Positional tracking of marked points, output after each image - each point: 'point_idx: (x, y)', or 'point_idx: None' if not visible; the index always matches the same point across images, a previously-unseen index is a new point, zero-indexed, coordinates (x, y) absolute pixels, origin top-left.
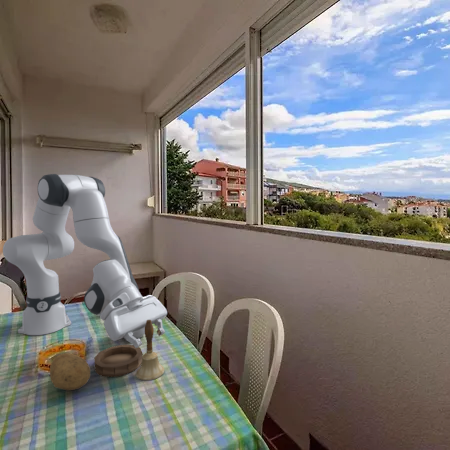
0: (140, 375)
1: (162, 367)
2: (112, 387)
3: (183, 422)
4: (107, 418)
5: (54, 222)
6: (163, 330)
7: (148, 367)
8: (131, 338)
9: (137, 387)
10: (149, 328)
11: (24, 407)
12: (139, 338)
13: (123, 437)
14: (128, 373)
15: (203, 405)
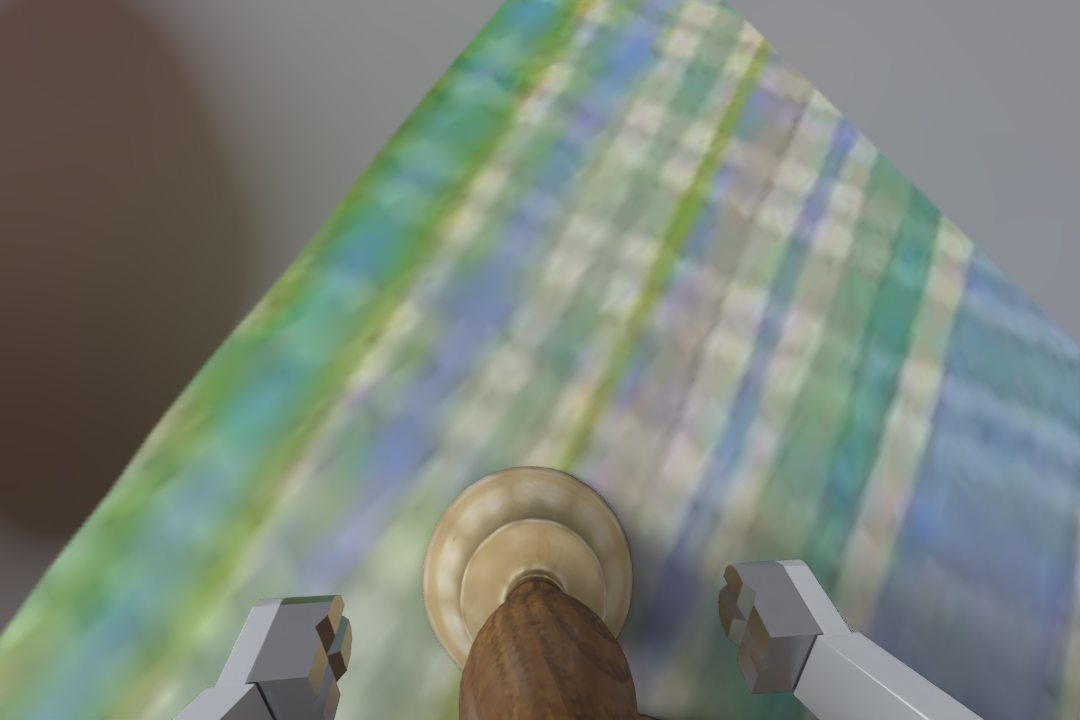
0: (625, 573)
1: (457, 515)
2: None
3: (705, 118)
4: (940, 405)
5: None
6: (266, 619)
7: (586, 535)
8: (927, 693)
9: (694, 498)
10: (594, 637)
11: None
12: (768, 636)
13: (929, 248)
14: (639, 715)
15: (572, 113)
